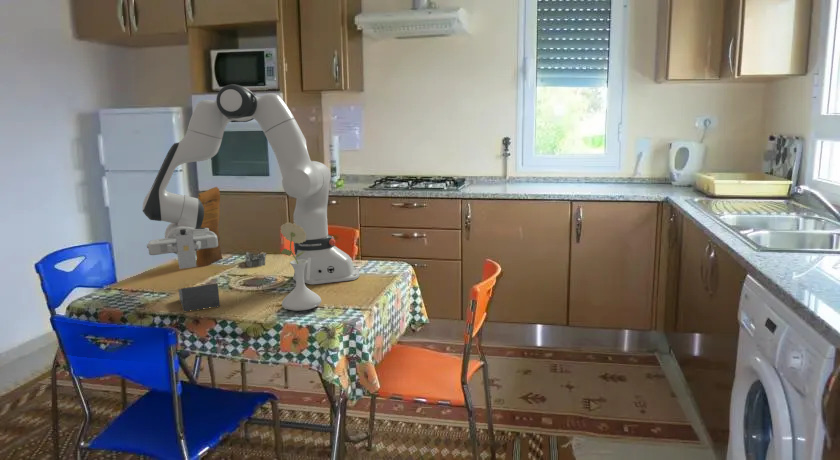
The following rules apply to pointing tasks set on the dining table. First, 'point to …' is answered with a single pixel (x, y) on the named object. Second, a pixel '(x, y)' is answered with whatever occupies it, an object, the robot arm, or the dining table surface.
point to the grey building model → (255, 259)
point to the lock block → (185, 249)
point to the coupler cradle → (199, 297)
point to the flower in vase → (298, 273)
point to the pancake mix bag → (210, 226)
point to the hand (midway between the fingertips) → (185, 248)
